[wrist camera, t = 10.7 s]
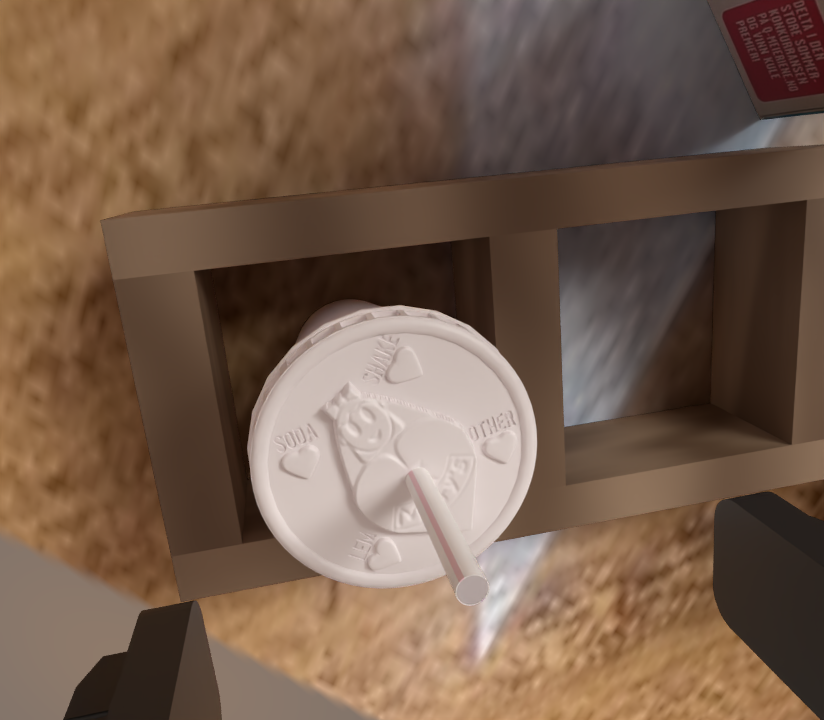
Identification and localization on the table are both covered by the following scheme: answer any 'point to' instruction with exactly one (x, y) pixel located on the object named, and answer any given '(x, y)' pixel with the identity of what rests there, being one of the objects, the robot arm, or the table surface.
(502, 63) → the table surface
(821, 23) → the juice carton
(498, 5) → the table surface
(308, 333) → the smoothie
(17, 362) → the table surface
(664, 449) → the slot rack
